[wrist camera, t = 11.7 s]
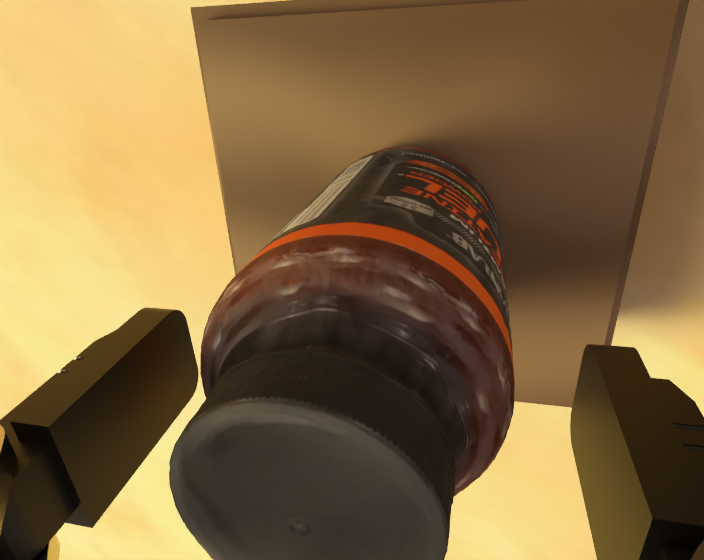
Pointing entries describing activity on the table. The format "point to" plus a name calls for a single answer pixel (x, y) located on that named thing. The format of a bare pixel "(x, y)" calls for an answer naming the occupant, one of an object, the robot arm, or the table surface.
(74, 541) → the table surface
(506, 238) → the walnut block
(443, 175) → the supplement bottle
